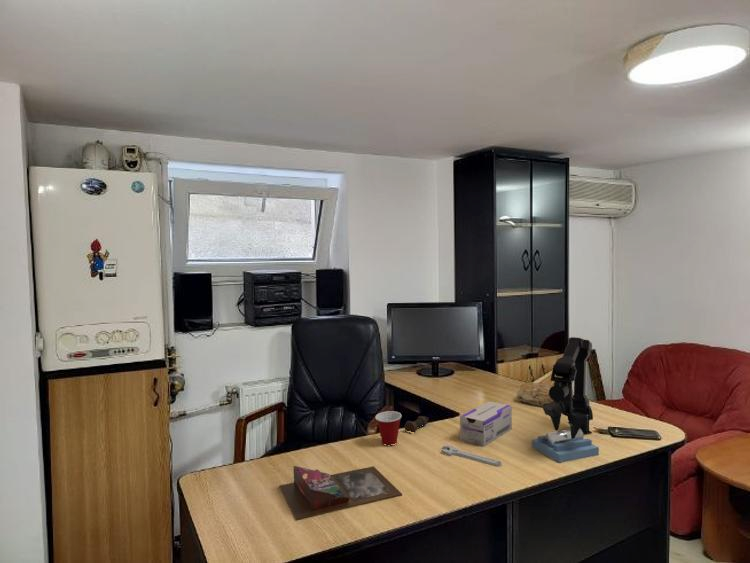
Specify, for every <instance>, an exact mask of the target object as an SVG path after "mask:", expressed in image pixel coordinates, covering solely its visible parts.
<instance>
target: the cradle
mask: <svg viewBox="0 0 750 563" xmlns="http://www.w3.org/2000/svg"><path fill="white" fill-rule="evenodd" d="M545 435H546V434H545ZM545 435H540V436H537V438H533V439H531V447H532V448H533V449H535V450H536V451H538V452H540V453H541V454H542V455H543V454H544V456H547V457H549V458H551V459H552V460H554V461H555V462H557V463H559V464H560V462H561V463H565V462H570V461H575V460H581V459H586V457H587V458H591V456H592V457H596V456H599V455H600V451H599V450H600V448H599V446H597V445H595V444H593V443H592V442H593V441H592V439H590V438H583V439H582V440H576V441H571V442H565V443H560V444H554V445H553V446H551V447H550V446H548V444H547V443H546V440H545Z"/></svg>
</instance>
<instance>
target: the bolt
mask: <svg viewBox="0 0 750 563" xmlns="http://www.w3.org/2000/svg"><path fill="white" fill-rule="evenodd" d="M429 420H430V419H429V417H428V416H425V415H423V416H421V415H419V416H418V417H417V419H415V420H414V421H413V420H412V421H411V420H407V421H406V423H405V424H404V429H405V431H406V430H407V431H411V432H415V433H416V431H417V429H418V427H419V428H421V427H420V426H422V425H423V426H424V427H426V425H427V423H429Z"/></svg>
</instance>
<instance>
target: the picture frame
mask: <svg viewBox="0 0 750 563" xmlns="http://www.w3.org/2000/svg"><path fill="white" fill-rule="evenodd" d="M305 474H306V478H304V477H303V476H304V475H305ZM292 478H293V482H289V483H285V484H281V485H280V484H279V486H278V487H279V489H280V491H281V494H282V496H283V497H284V499H285V501H286V503H287V505H288V507H289V509H290V511H291V513H292V516H293V518H294V520H295V521H296V522H297V521H301V520H304V519H309V518H313V517H318V516H321V515H326V514H330V513H334V512H338V511H343V510H347V509H350V508H355V507H360V506H364V505H368V504H373V503H376V502H381V501H384V500H389V499H394V498H397V497H402V496H403V493H402V492H401V491H400V490H399V489H397V487H396V486H395V485H393V483H392V482H391V481H389V479H388V478H386V477H385V475H383V474H382V473H381V472H380V471H379V470H378V469H377V468H376V467H375V466H368V467H367V466H366V467H364V468H359V469H357V468H356V469H353V470H348V471H343V472H338V473H334V474H333V473H332V474H330V473H328V472H327V473H326V472H324V471H323V472H322V471H320V470H319V469H317V468H316V469H310V468H307V467H306V468H305V467H302V466H296V465H293V477H292Z"/></svg>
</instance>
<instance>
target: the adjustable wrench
mask: <svg viewBox="0 0 750 563" xmlns="http://www.w3.org/2000/svg"><path fill="white" fill-rule="evenodd" d="M440 449H441V451H440V453H441V452H442V453H441V454H442V455H445V454H446V456H448V457H451V455H452V456H458V457H462V458H465V459H469V460H472V461H477V462H479V463H483V464H487V465H490V466H493V467H498V468H499V467H502V466H503V464H502V463H503V462H502V461H500V460H496V459H493V458H489V457H484V456H482V455H481V456H480V455H478V454H474V453H471V452H466V451H463V450H460V449H458V448H457V447H455V446H453V445H442V448H440ZM446 449H447V450H446Z"/></svg>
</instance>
